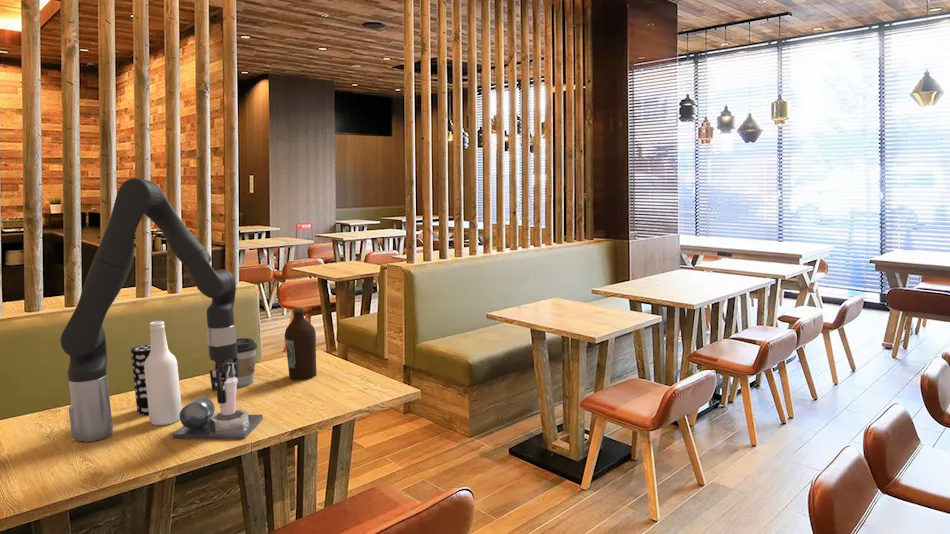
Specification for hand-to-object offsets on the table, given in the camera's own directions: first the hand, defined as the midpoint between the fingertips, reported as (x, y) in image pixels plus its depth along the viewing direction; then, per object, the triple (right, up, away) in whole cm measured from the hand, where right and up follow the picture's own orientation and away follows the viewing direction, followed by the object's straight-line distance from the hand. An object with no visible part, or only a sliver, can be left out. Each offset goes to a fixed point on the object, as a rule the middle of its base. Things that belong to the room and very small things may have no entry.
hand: (226, 398), depth 187 cm
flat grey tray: (-3, -9, +1) cm, 9 cm away
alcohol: (-21, -9, +9) cm, 25 cm away
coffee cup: (-10, -3, +42) cm, 44 cm away
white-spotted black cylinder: (-30, -7, +18) cm, 36 cm away
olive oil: (+9, -2, +49) cm, 49 cm away
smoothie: (0, -4, +1) cm, 4 cm away
